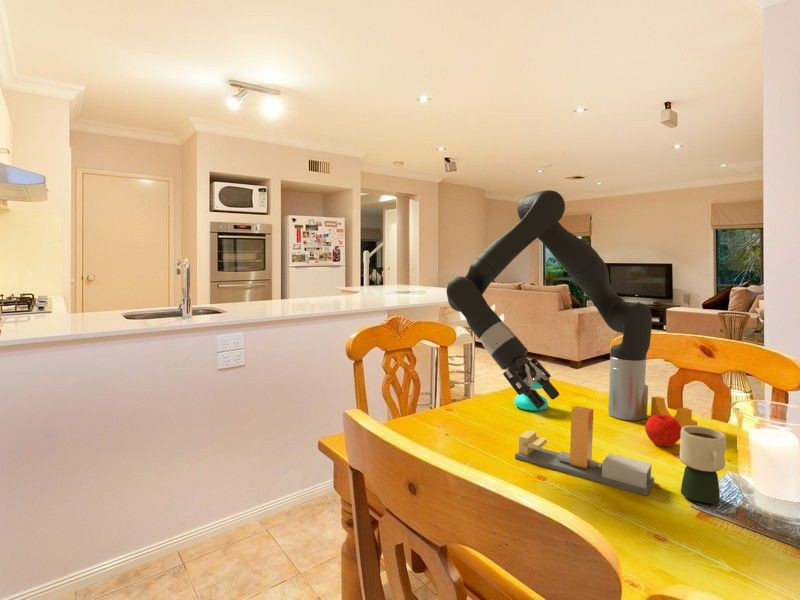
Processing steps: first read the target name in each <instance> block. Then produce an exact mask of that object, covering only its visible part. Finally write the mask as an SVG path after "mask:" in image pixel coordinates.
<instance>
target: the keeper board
mask: <svg viewBox="0 0 800 600" xmlns="http://www.w3.org/2000/svg"><path fill="white" fill-rule="evenodd" d="M518 437H519V438H518V441H519V442H518V451H517V452H516V453H515V454H514V459H515V460H516V459H517V460H519V461H523V462H526V463H530V464H533V465H536V466H540V467H544V468H547V469H550V470H554V471H556V472H557V471H558V472H561V473H565V474H568V475H572V476H574V477H575V476H576V477H579V478H582V479H586V480H589V481H593V482H596V483H600V484H604V485H607V486H611V487H614V488H617V489H620V490H624V491H627V492H630V493H631V492H632V493H636V494H639V495H642V496H645V497H648V496H649V494H650V492H651V490H652V488H653V486H654V483H655V477H653V476H652V463H651V462H646V461H643V460H640V459H639V460H638V459H634V458H631V457H627V456H621V455H618V454H614V453H608V454H607V455H606V456H605V458H604V459H603V460H602V462H601V463H602V469H599V468H592V467H588V468H587V469H585V468H581V467H577V466H574V465H570V463H567V462H563V461H559V460H558V454H560V453H561V452H559V451H558V452H557V451H554V450H550V449H546V448H544V447H543V446H544V445H547V438H545V437H541V436H538V435H537V431H534V430H530V429H528V430H526V431H524V432H523V433H522V434H521V435H519V436H518Z"/></svg>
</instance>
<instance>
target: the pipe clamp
mask: <svg viewBox="0 0 800 600" xmlns="http://www.w3.org/2000/svg"><path fill="white" fill-rule="evenodd" d="M650 402H651V405H650V417H652V416H654V415H667V416H670V417H673V418H674V419H676V420H677V422H678V423H679V424H680V426H681V428H682V427H685V426H698V421H697V420H694V419H692V414H693V413H692V412H693V410H692V409H690V408H688V407H677V408H676V413H675V414H674V416H673V415H672V414H671V413H670V412H669V410H668V408H667V406H666V398H664V397H661V396H651V401H650Z"/></svg>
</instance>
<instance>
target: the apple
mask: <svg viewBox="0 0 800 600" xmlns="http://www.w3.org/2000/svg"><path fill="white" fill-rule="evenodd" d="M673 417H674V416H673ZM673 417H670V416H667V415H654V416H652V417H651V416H650V417H649V418H647V421H646V422H645V424H644V429H645V430H644V431H645V433H646V435H647V438H648V439H649V441H650V442H652V444H654V445H655V446H660V447H671V446H673V445H675V444H677V442H678V441H680V439H681V429H682V428H681V426H680V424H679V423H678V422H677V420H676V419H674V418H673Z"/></svg>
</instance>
